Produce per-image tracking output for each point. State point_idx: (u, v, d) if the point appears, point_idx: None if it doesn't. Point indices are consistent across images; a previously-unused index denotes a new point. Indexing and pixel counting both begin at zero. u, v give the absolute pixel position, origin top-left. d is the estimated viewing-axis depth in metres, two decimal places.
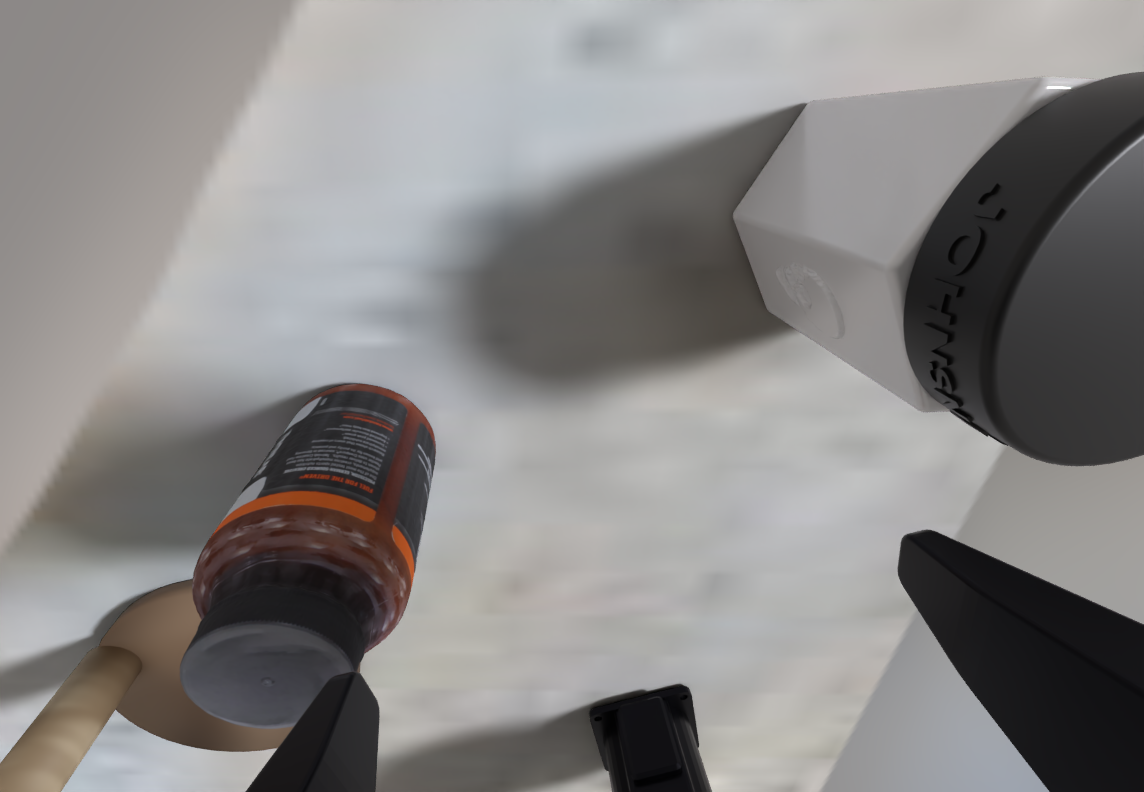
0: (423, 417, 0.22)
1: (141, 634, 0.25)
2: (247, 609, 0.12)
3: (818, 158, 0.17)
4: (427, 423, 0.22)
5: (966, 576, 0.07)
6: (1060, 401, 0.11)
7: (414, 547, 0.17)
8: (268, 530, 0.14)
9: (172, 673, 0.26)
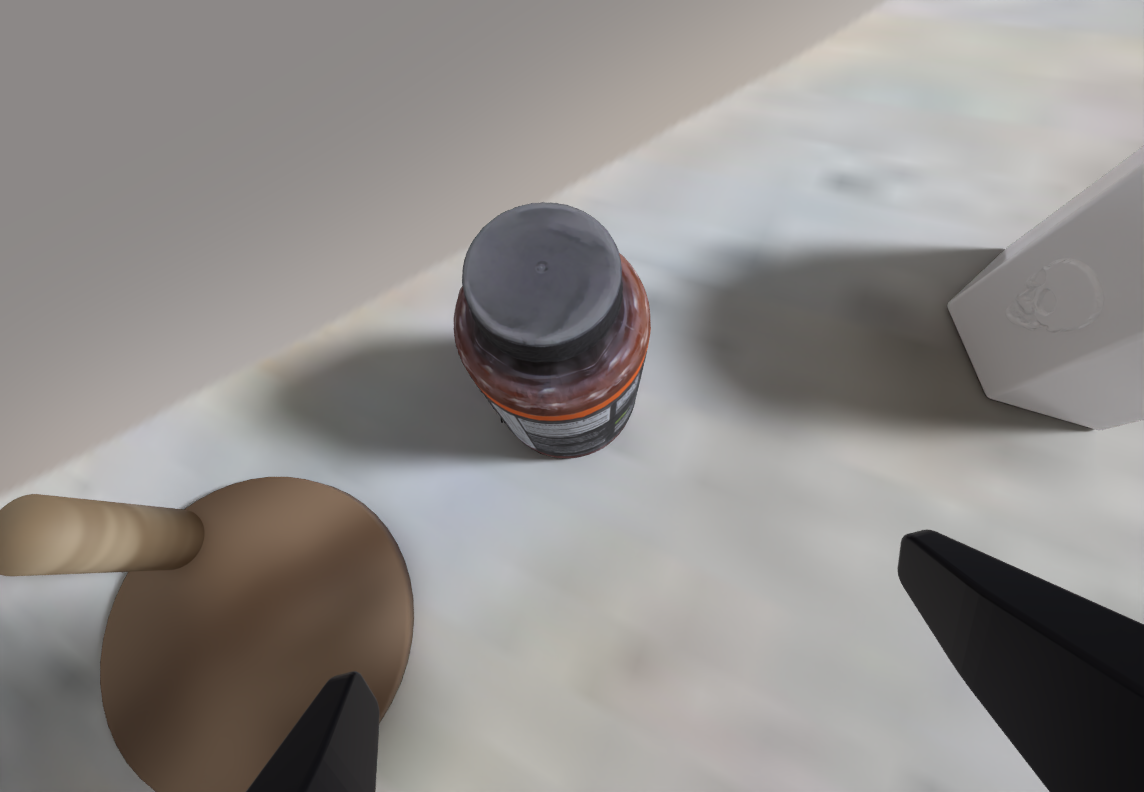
0: None
1: (234, 511, 0.22)
2: None
3: (1035, 231, 0.21)
4: None
5: (966, 576, 0.07)
6: None
7: None
8: None
9: (209, 584, 0.21)
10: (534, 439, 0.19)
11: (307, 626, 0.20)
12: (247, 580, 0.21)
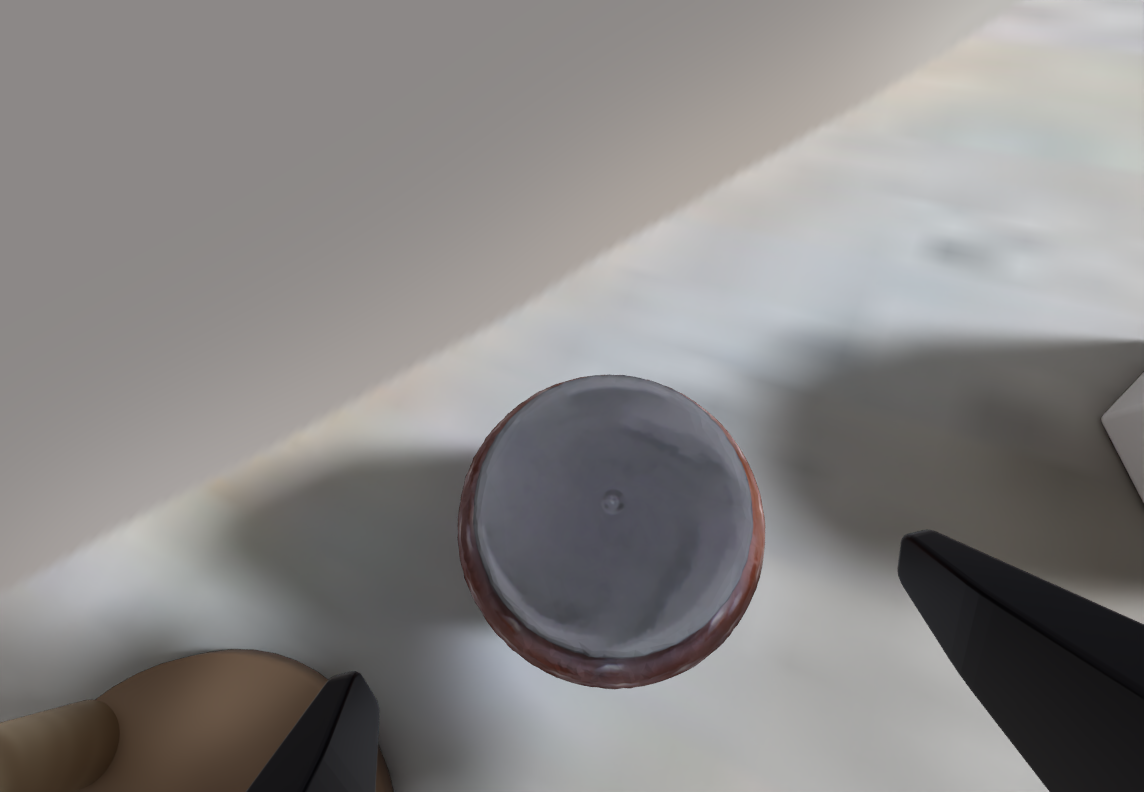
0: None
1: (160, 704, 0.16)
2: None
3: None
4: None
5: (966, 576, 0.07)
6: None
7: None
8: None
9: None
10: None
11: None
12: None
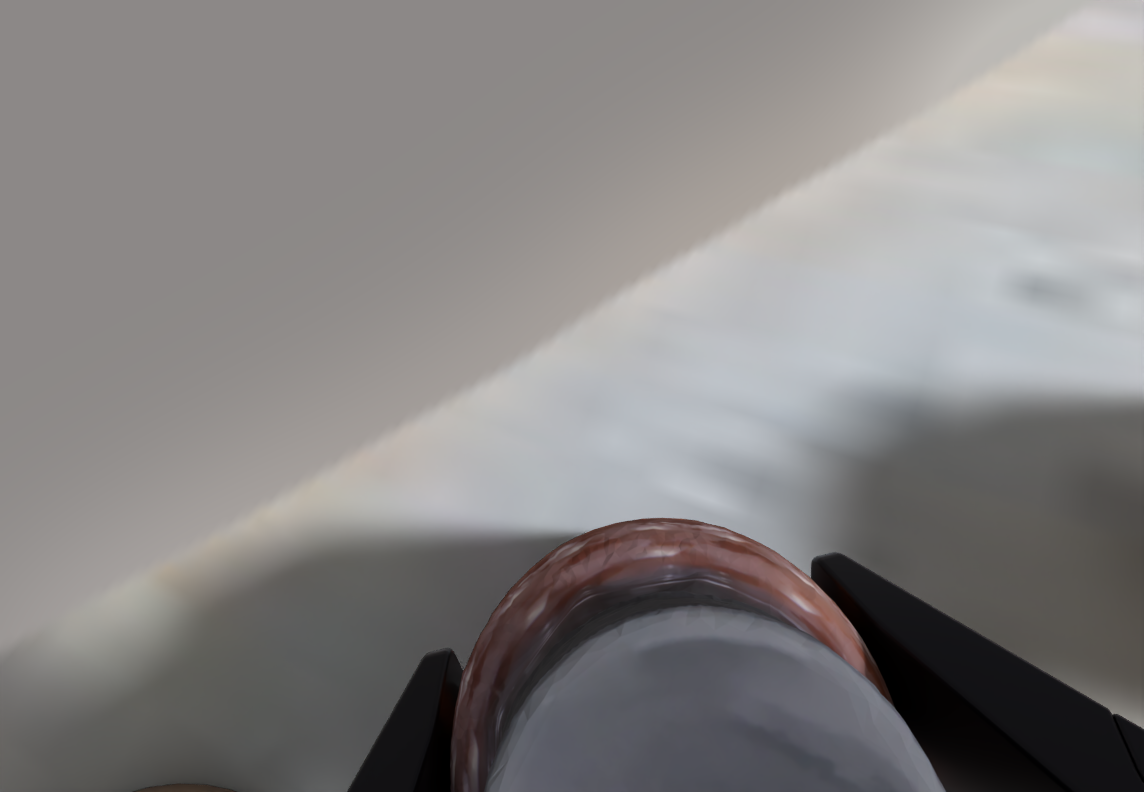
0: None
1: None
2: (741, 607, 0.05)
3: None
4: None
5: (861, 602, 0.07)
6: None
7: None
8: (715, 537, 0.07)
9: None
10: None
11: None
12: None
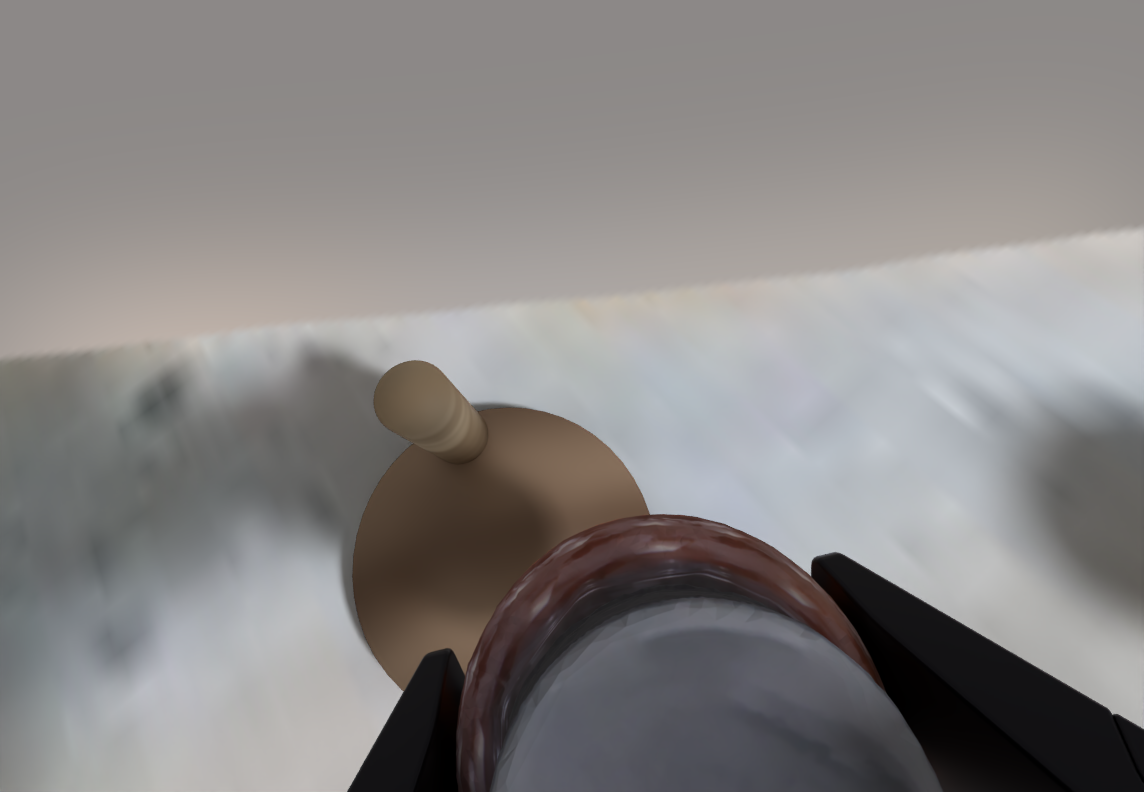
0: None
1: (520, 435, 0.22)
2: (741, 600, 0.05)
3: None
4: None
5: (861, 602, 0.07)
6: None
7: None
8: (715, 533, 0.07)
9: (477, 492, 0.21)
10: None
11: None
12: (512, 505, 0.21)
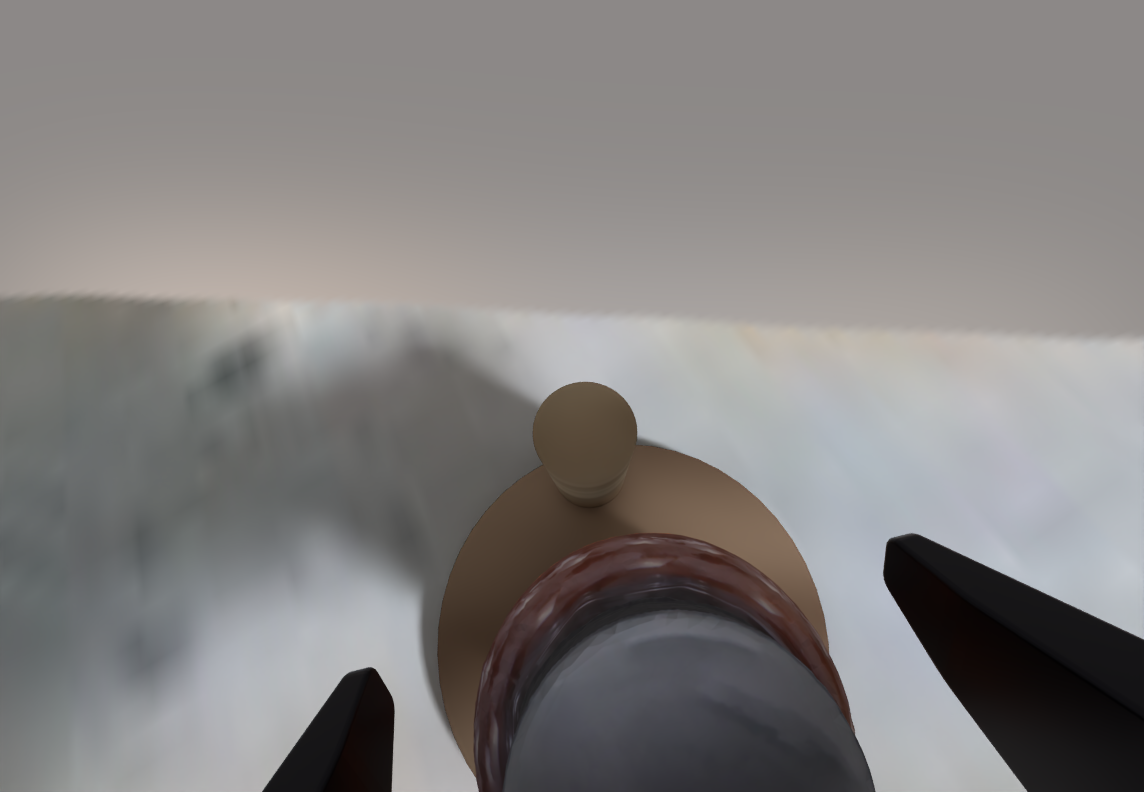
0: None
1: (664, 483, 0.18)
2: (711, 611, 0.06)
3: None
4: None
5: (949, 580, 0.07)
6: None
7: None
8: (696, 550, 0.08)
9: None
10: None
11: None
12: None
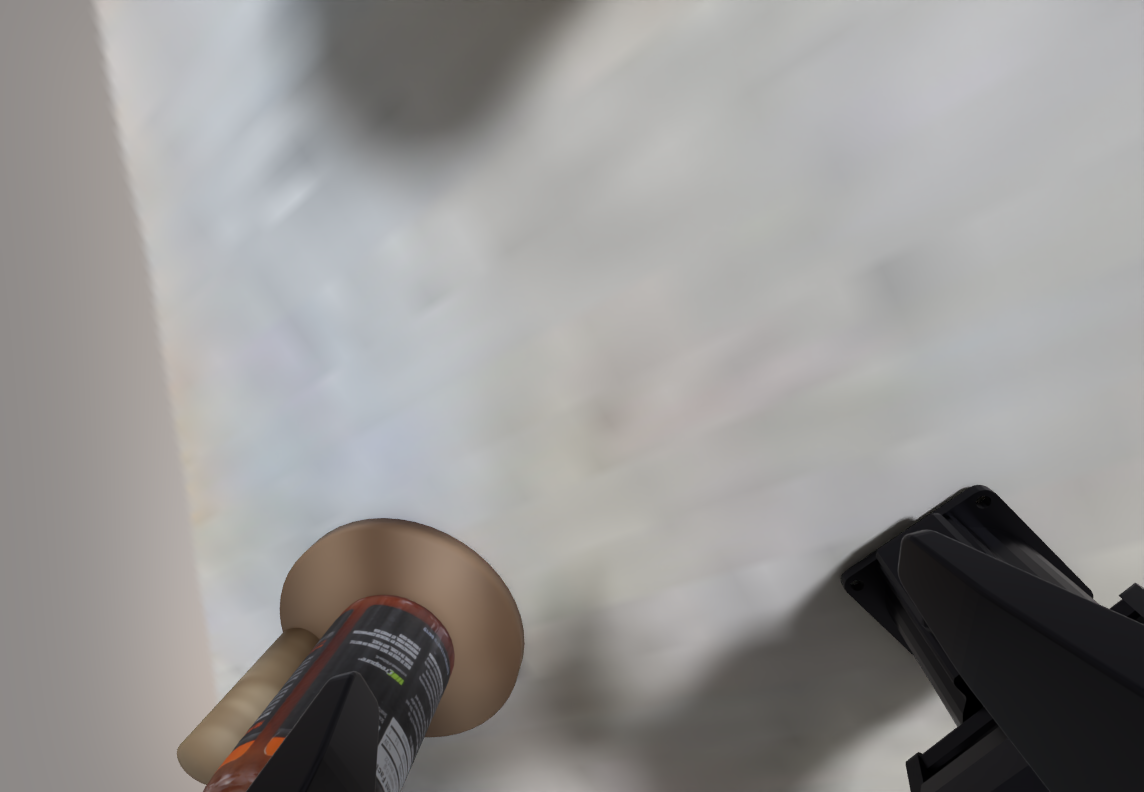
0: (377, 598, 0.24)
1: (302, 606, 0.25)
2: None
3: None
4: (383, 599, 0.23)
5: (966, 576, 0.07)
6: None
7: None
8: None
9: None
10: (422, 740, 0.21)
11: None
12: None
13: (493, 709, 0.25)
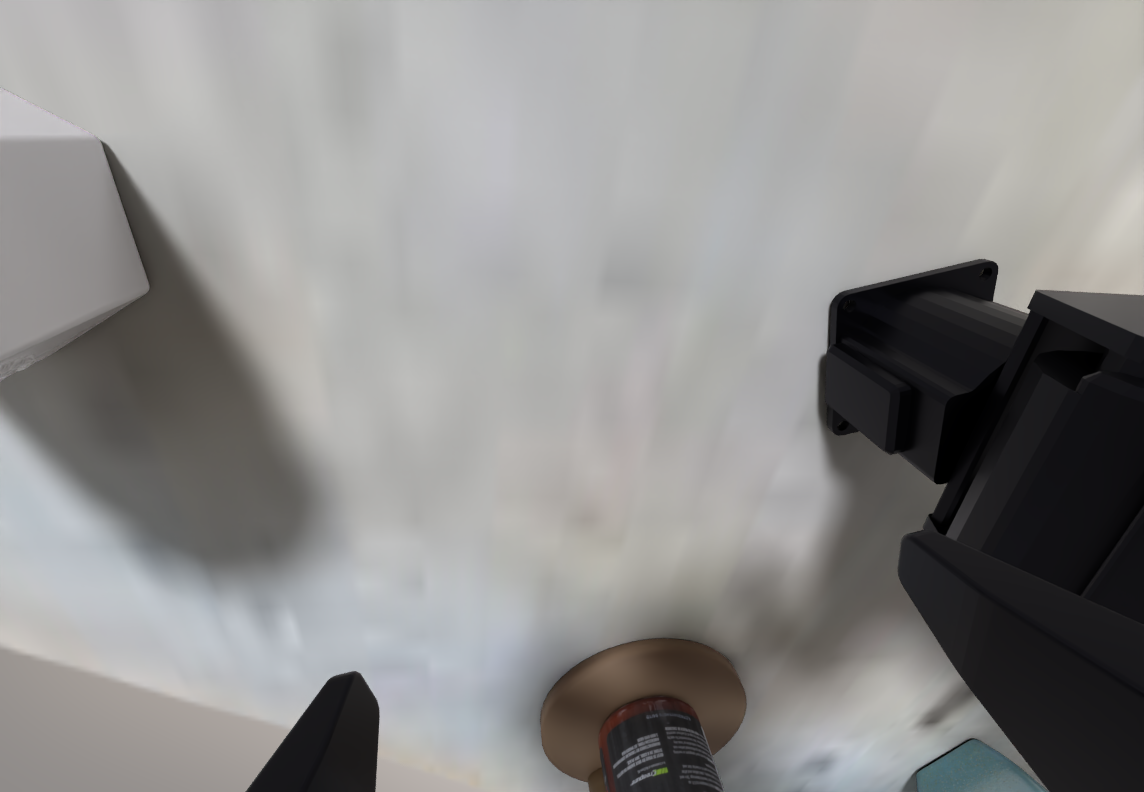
0: (605, 727, 0.29)
1: (579, 764, 0.31)
2: None
3: None
4: (608, 724, 0.29)
5: (966, 576, 0.07)
6: None
7: None
8: None
9: None
10: (717, 775, 0.26)
11: None
12: None
13: (741, 695, 0.30)
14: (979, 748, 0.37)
